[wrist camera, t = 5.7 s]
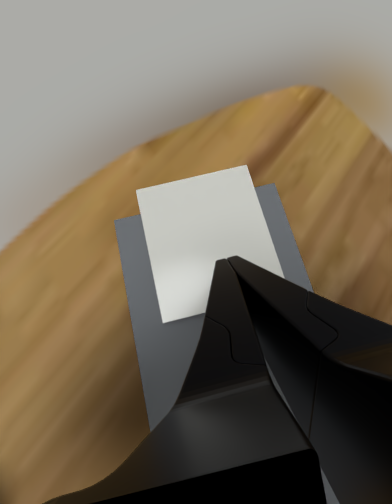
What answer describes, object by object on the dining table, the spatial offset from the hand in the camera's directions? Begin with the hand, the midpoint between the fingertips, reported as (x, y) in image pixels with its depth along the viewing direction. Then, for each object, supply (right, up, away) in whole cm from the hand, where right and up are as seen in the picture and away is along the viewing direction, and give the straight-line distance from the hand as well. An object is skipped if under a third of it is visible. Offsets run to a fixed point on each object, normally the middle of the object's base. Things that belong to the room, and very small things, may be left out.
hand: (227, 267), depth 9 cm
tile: (0, -2, +4) cm, 5 cm away
